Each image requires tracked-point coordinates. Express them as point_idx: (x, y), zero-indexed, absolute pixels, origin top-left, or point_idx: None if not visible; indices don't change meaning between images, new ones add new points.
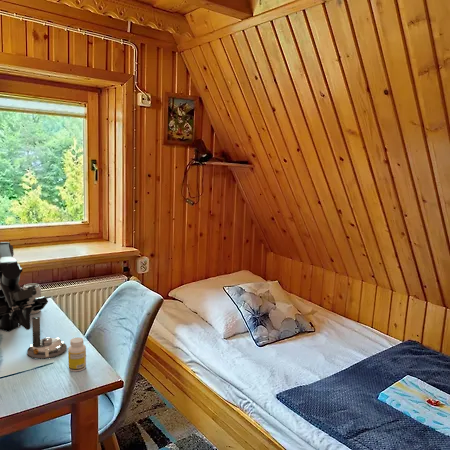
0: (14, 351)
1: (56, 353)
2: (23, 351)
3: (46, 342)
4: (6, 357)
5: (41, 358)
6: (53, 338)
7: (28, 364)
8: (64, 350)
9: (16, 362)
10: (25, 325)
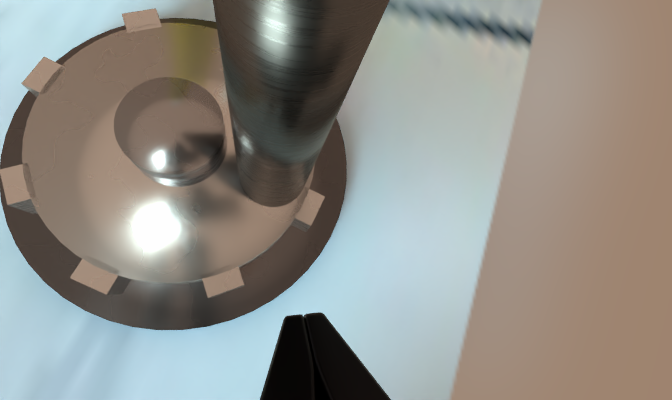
0: (393, 330)
1: None
2: (340, 282)
3: (203, 90)
4: (467, 264)
5: None
6: (52, 216)
7: (388, 70)
8: (100, 35)
9: (437, 146)
10: (356, 363)
